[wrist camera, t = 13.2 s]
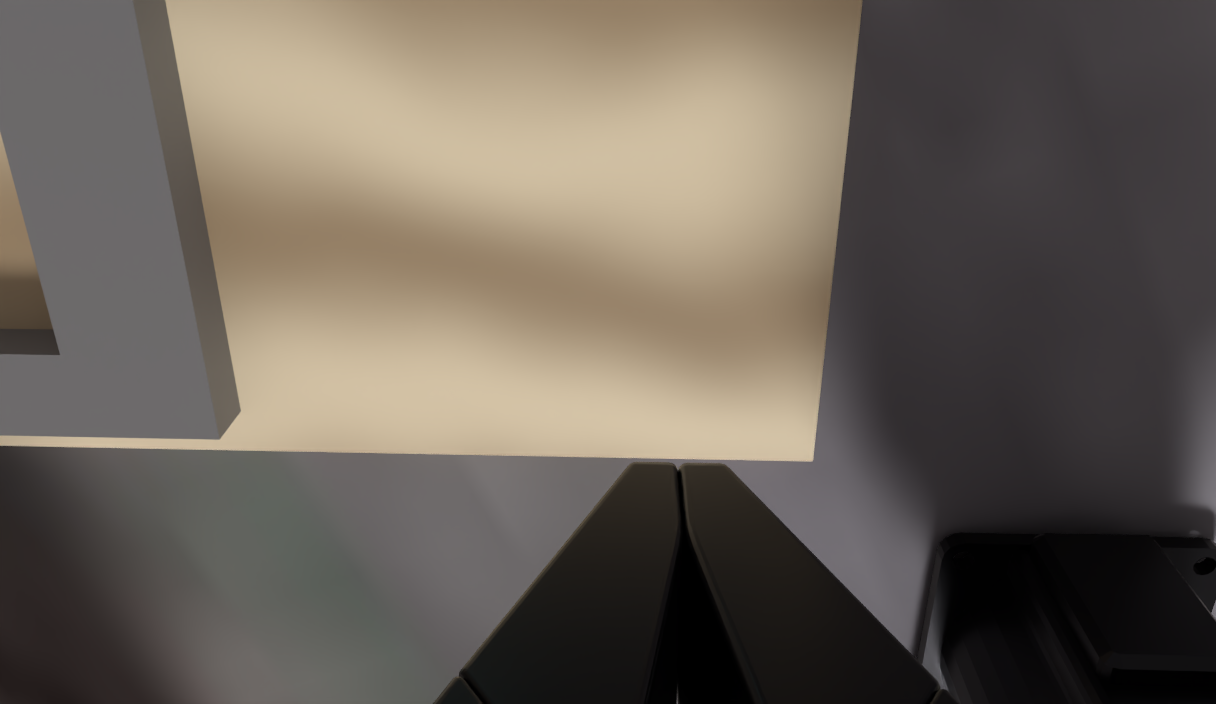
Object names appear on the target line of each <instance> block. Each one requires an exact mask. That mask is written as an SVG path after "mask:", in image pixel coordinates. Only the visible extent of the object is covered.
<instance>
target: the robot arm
mask: <svg viewBox="0 0 1216 704" xmlns="http://www.w3.org/2000/svg"><path fill="white" fill-rule="evenodd" d="M961 552H968V554H967V555H966V556H965V557H963V558H960V559H954V556H955V555H957V554H958V553H961ZM1201 558H1206V559H1205V560H1204V561H1202V562H1201V563H1198V564H1195V563H1196V561H1198V560H1200V559H1201ZM1215 600H1216V543H1214V542H1213V541H1211V540H1210V539H1205V538H1181V537H1150V536H1147V535H1105V534H1058V533H1045V534H1041V535H1040V534H994V533H957V534H952V535H950V536H948V537H946V538H945V539H944V540H943V541H942V542H940V544H939V546H938V549H937V552H936V558H935V563H934V569H933V574H932V580H931V585H930V591H929V597H928V602H927V608H926V613H925V619H924V624H923V630H922V635H921V641H920V646H919V652H918V657H917V659H916V658H915V657H914V656H913V655H912V654H911V653H910V652H909V651H908V650H907V649H906V648H905V647H904V646H903V645H902V644H901V643H900V642H899V641H898V640H897V639H896V638H895V637H894V636H893V635H892V634H891V633H890V632H889V631H888V630H887V629H886V628H885V627H884V626H883V625H882V624H881V623H880V622H879V621H878V620H877V618H876V617H875V616H874V615H873V614H872V613H871V612H870V611H869V610H868V609H867V608H866V607H865V606H864V605H863V604H862V603H861V602H860V601H859V600H858V599H857V598H856V597H855V596H854V595H853V594H852V593H851V592H850V591H849V590H848V589H847V588H846V587H845V586H844V585H843V584H842V583H841V582H840V581H839V580H838V579H837V578H836V577H835V576H834V575H833V574H832V573H831V572H830V570H829V569H828V568H827V567H826V566H825V565H824V564H823V563H822V562H821V561H820V560H819V559H818V558H817V557H816V556H815V555H814V554H813V553H812V552H811V551H810V550H809V549H808V548H807V547H806V546H805V545H804V544H803V543H802V542H801V541H800V540H799V539H798V538H797V537H796V536H795V535H794V534H793V533H792V532H791V531H790V530H789V529H788V528H787V527H786V526H785V525H784V524H783V522H782V521H781V520H780V519H779V518H778V517H777V516H776V515H775V514H774V513H773V512H772V511H771V510H770V509H769V508H768V507H767V506H766V505H765V504H764V503H763V502H762V501H761V500H760V499H759V498H758V497H757V496H756V495H755V494H754V493H753V492H752V491H751V490H750V489H749V488H748V487H747V486H746V485H745V484H744V483H743V482H742V481H741V480H740V479H739V478H738V477H737V476H736V474H735V473H734V472H733V471H732V470H731V469H730V468H729V467H727V466H726V465H724V464H720V463H684V464H682V465H681V466H680V467H679V470H677V467H676V466H675V465H674V464H672V463H669V462H633V463H631V464H630V465H629V466H628V467H627V468H626V469H625V470H624V472H623V473H622V474H621V475H620V477H619V478H618V479H617V480H616V481H615V483H614V484H613V485H612V486H611V487H610V489H609V490H608V491H607V492H606V494H605V495H604V496H603V497H602V498H601V500H600V501H599V502H598V503H597V505H596V506H595V507H594V508H593V509H592V511H591V512H590V513H589V514H588V516H587V517H586V518H585V519H584V520H583V522H582V523H581V524H580V525H579V527H578V528H577V529H576V530H575V531H574V533H573V534H572V535H571V536H570V538H569V539H568V540H567V541H566V542H565V544H564V545H563V546H562V547H561V549H560V550H559V551H558V552H557V553H556V555H555V556H554V557H553V558H552V560H551V561H550V562H549V563H548V564H547V566H546V567H545V568H544V569H543V571H542V572H541V573H540V574H539V575H538V577H537V578H536V579H535V580H534V581H533V583H532V584H531V585H530V586H529V588H528V589H527V590H526V591H525V592H524V594H523V595H522V596H521V597H520V599H519V600H518V601H517V602H516V603H515V605H514V606H513V607H512V608H511V610H510V611H509V612H508V613H507V614H506V616H505V617H504V618H503V619H502V621H501V622H500V623H499V624H498V625H497V627H496V628H495V629H494V630H493V632H492V633H491V634H490V635H489V636H488V638H487V639H486V640H485V641H484V642H483V644H482V645H481V646H480V647H479V649H478V650H477V651H476V652H475V653H474V655H473V656H472V657H471V658H470V660H469V661H468V662H467V663H466V664H465V666H464V667H463V668H462V669H461V671H460V672H459V677H455V678H453V679H452V681H451V682H450V683H449V684H448V686H447V687H446V688H445V689H444V691H443V692H442V693H441V694H440V696H439V697H438V698H437V699H436V700H435V702H434V703H433V704H676V702H677V698H678V704H1216V619H1215V618H1214V617H1213V615H1212V614H1211V612H1212V609H1213V606H1214V603H1215Z"/></svg>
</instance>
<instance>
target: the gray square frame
mask: <svg viewBox="0 0 1216 704" xmlns="http://www.w3.org/2000/svg"><path fill="white" fill-rule="evenodd" d="M0 133H1V137H2V140H3V144H4V148H5V151H6V155H7V159H8V163H9V166H10V170H11V174H12V178H13V181H14V185H15V189H16V192H17V196H18V200H19V204H20V207H21V211H22V215H23V219H24V222H25V226H26V230H27V233H28V237H29V241H30V245H31V248H32V252H33V256H34V260H35V263H36V267H37V271H38V274H39V278H40V282H41V286H42V289H43V293H44V297H45V301H46V304H47V308H48V312H49V315H50V319H51V323H52V327H53V329H0V436H52V437H105V438H157V439H210V440H220V439H221V437H222V436H223V435H224V433H225V432H226V431H227V429H228V428H229V427H230V425H231V424H232V423H233V421H234V420H235V419H236V417H237V416H238V415H239V413H240V412H241V409H240V403H239V398H238V392H237V387H236V382H235V376H234V371H233V365H232V360H231V355H230V349H229V344H228V338H227V333H226V327H225V322H224V317H223V311H222V306H221V300H220V295H219V289H218V284H217V279H216V273H215V268H214V262H213V257H212V251H211V246H210V241H209V235H208V230H207V224H206V219H205V213H204V208H203V203H202V197H201V192H200V186H199V181H198V175H197V170H196V165H195V159H194V154H193V148H192V143H191V138H190V132H189V127H188V121H187V116H186V110H185V105H184V100H183V94H182V89H181V83H180V78H179V72H178V67H177V62H176V56H175V51H174V45H173V40H172V34H171V29H170V24H169V18H168V13H167V7H166V2H165V0H0Z"/></svg>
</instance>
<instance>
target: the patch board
mask: <svg viewBox="0 0 1216 704" xmlns="http://www.w3.org/2000/svg"><path fill="white" fill-rule="evenodd" d="M862 1H863V0H165V2H166V7H167V13H168V18H169V24H170V29H171V34H172V40H173V45H174V51H175V56H176V62H177V67H178V72H179V78H180V83H181V89H182V94H183V100H184V105H185V110H186V116H187V121H188V127H189V132H190V138H191V143H192V148H193V154H194V159H195V165H196V170H197V175H198V181H199V186H200V192H201V197H202V203H203V208H204V213H205V219H206V224H207V230H208V235H209V241H210V246H211V251H212V257H213V262H214V268H215V273H216V279H217V284H218V289H219V295H220V300H221V306H222V311H223V317H224V322H225V327H226V333H227V338H228V344H229V349H230V355H231V360H232V365H233V371H234V376H235V382H236V387H237V392H238V398H239V403H240V409H241V412H240V413H239V415H238V416H237V417H236V419H235V420H234V421H233V423H232V424H231V425H230V427H229V428H228V429H227V431H226V432H225V433H224V435H223V436H222V437H221V439H220V440H210V439H157V438H105V437H52V436H0V446H43V447H94V448H146V449H198V450H250V451H301V452H353V453H405V454H457V455H508V456H560V457H612V458H663V459H715V460H767V461H813V455H814V446H815V436H816V427H817V418H818V409H819V399H820V390H821V381H822V372H823V362H824V353H825V344H826V335H827V325H828V316H829V307H830V297H831V288H832V279H833V270H834V260H835V251H836V242H837V233H838V223H839V214H840V205H841V196H842V186H843V177H844V168H845V159H846V149H847V140H848V131H849V122H850V112H851V103H852V94H853V85H854V75H855V66H856V57H857V48H858V38H859V29H860V20H861V11H862ZM0 329H53V327H52V323H51V319H50V315H49V312H48V308H47V304H46V301H45V297H44V293H43V289H42V286H41V282H40V278H39V274H38V271H37V267H36V263H35V260H34V256H33V252H32V248H31V245H30V241H29V237H28V233H27V230H26V226H25V222H24V219H23V215H22V211H21V207H20V204H19V200H18V196H17V192H16V189H15V185H14V181H13V178H12V174H11V170H10V166H9V163H8V159H7V155H6V151H5V148H4V144H3V140H2V137H1V133H0Z"/></svg>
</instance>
